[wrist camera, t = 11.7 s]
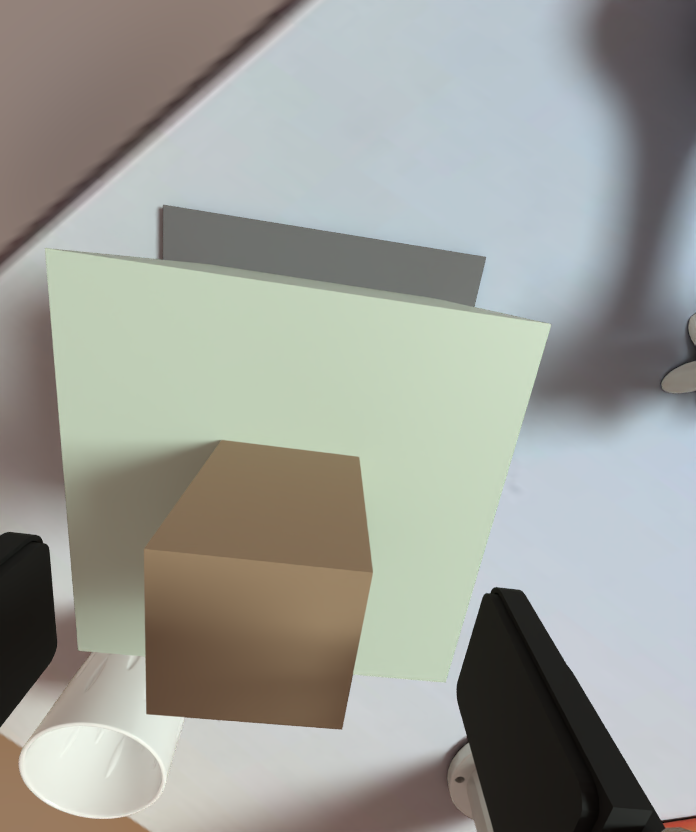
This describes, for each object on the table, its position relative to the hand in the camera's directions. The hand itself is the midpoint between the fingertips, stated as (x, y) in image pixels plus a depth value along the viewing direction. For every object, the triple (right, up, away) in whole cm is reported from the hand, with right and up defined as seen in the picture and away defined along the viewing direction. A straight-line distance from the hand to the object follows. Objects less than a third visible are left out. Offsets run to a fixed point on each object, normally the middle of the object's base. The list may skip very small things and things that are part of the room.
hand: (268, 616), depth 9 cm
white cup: (-13, -12, +23) cm, 29 cm away
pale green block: (-1, +6, +17) cm, 18 cm away
